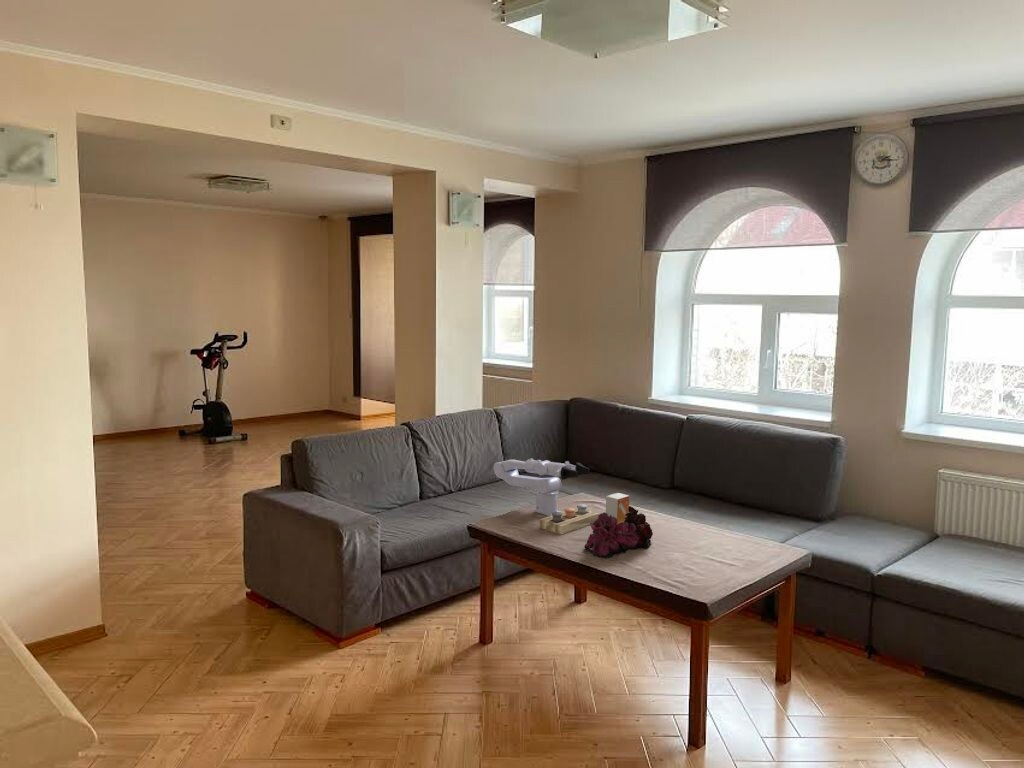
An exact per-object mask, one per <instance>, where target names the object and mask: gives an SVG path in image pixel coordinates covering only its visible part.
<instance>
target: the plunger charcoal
mask: <svg viewBox="0 0 1024 768" xmlns="http://www.w3.org/2000/svg"><path fill="white" fill-rule="evenodd" d="M552 516H553V522H555V523H560V522H561V516H562V512H553V513H552Z"/></svg>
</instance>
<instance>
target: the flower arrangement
mask: <svg viewBox="0 0 1024 768" xmlns="http://www.w3.org/2000/svg"><path fill="white" fill-rule="evenodd" d="M628 511H629V513H626V514H625V516H627V517H625V518H624V519H625V521H624V522H622V523H620V524H618V525H617V522H618V521H617V518H615V517H612V516H611V515H610V516H608V514H607V513H606V511H605V512H601V513H599V515H598V519H597V520H596V521H595V522H594V523H590V525H589V526H590V528H591V530H592V533H590V534H589V536H588V539H587V541H586V543H585V544H584V547H583V548H584V550H585V551H589V550H590V549H591V550H590V553H592V554H593V555H594V557H597V558H601V559H610V558H611V559H612V558H613V556H615V555H620V554H623V553H626V552H627V551H633V550H635V551H636V550H647V549H649V548H650V547H651V546H652V541H651V539H652V537H653V536H654V533H653V529H652V528H651V524H650V523H649V522H647V519H646V517H647V516H646V515H645V514H643V513H641V512H640V513H639V509H636V508H634V507H633V506H631V505H629V510H628Z"/></svg>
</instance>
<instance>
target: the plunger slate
mask: <svg viewBox="0 0 1024 768" xmlns="http://www.w3.org/2000/svg"><path fill="white" fill-rule="evenodd" d="M576 508H578V514H581V515H584V514H586V510H587V508H588V505H587V504H584V503H579V504H577V505H576Z"/></svg>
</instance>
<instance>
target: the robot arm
mask: <svg viewBox="0 0 1024 768" xmlns="http://www.w3.org/2000/svg"><path fill="white" fill-rule="evenodd" d="M519 470H525V472H526V473H532V474H538V475H539V477H536V476H530V475H529V476H528V475H522V474H521V475H520V474H519ZM590 470H591V469H590V468H589V467H586V466H585V465H583V464H582V463H581V462H575V465H574V464H571V463H570V461H569V460H567V461H566V460H565V461H564V463H561V462H555V461H551V460H548V459H546V460H541V459H537V460H535V459H534V458H532V457H531V458H528V459H527V460H525V461H522V460H517V459H507V460H504V461H497V462H495V463H494V464H493V472H494V474H495V476H496V478H499V479H502V480H503V481H504V482H505V483H507V484H509V485H510V486H515V487H521V488H528V489H535V491H536V492H537V494H536V497H535V510H534V512H535V513H538V514H542V515H545V516H547V517H549V516H552V513H553V512H561V513H562V512H563V511H562V510H558V503H559V502H558V499H559V497H558V495H559V494H558V493H559V492H560V490H561V488H562V481H564V480H566V479H567V480H568V479H569V478H570V479H571V478H578V477H579V476H582V475H588V474H590V473H591V472H590ZM544 475H547V476H552V477H540V476H544ZM560 477H561V479H560ZM561 480H562V481H561Z"/></svg>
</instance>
